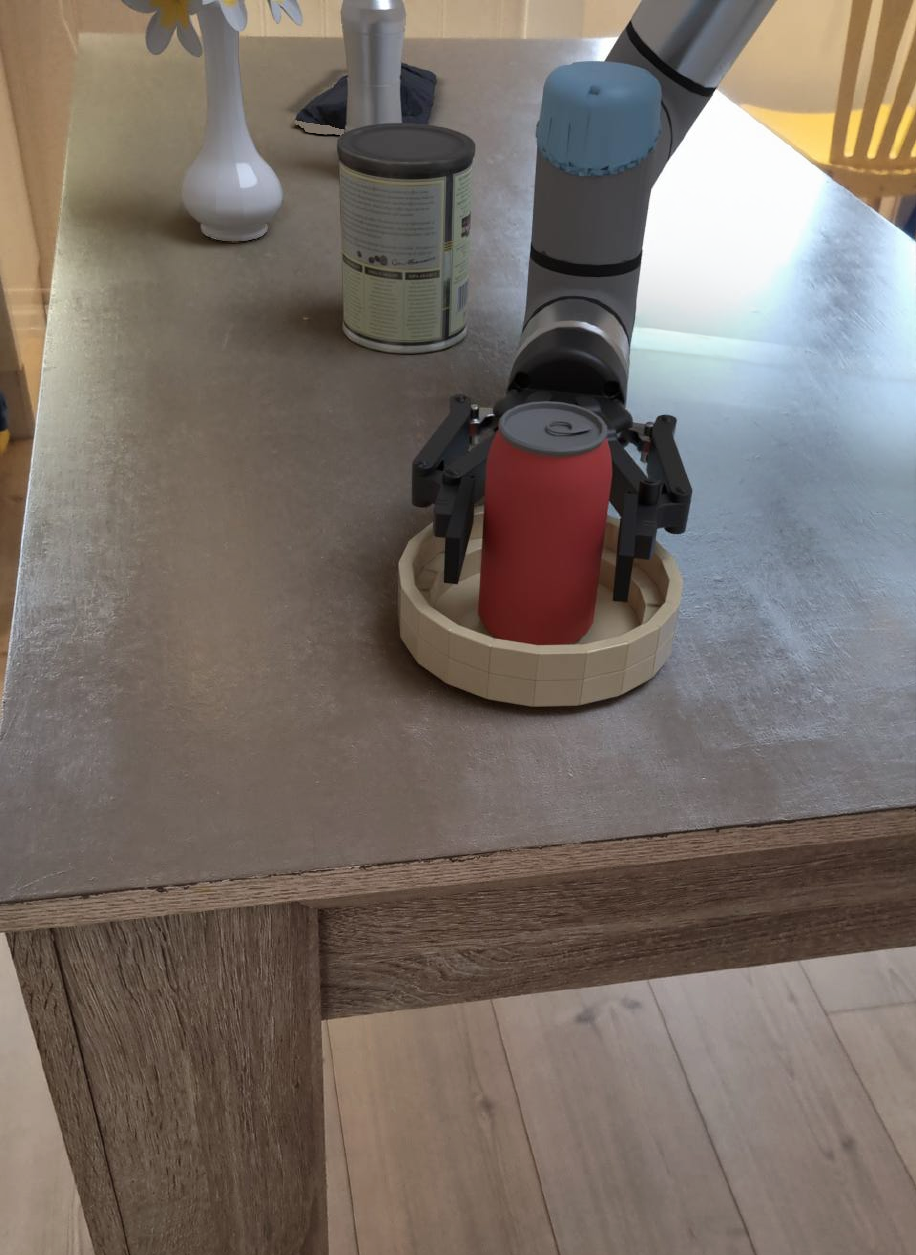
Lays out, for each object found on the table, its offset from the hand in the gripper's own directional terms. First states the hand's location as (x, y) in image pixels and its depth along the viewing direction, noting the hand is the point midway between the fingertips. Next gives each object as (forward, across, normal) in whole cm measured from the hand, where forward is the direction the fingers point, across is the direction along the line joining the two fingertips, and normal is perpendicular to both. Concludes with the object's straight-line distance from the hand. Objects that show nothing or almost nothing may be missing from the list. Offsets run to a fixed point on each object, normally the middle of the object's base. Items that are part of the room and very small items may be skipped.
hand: (537, 569), depth 66 cm
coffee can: (-46, +14, -7) cm, 49 cm away
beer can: (-5, 0, -6) cm, 8 cm away
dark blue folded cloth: (-109, +28, -7) cm, 112 cm away
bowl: (-5, 0, -7) cm, 8 cm away
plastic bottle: (-85, +24, -7) cm, 89 cm away
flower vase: (-65, +33, -7) cm, 73 cm away
